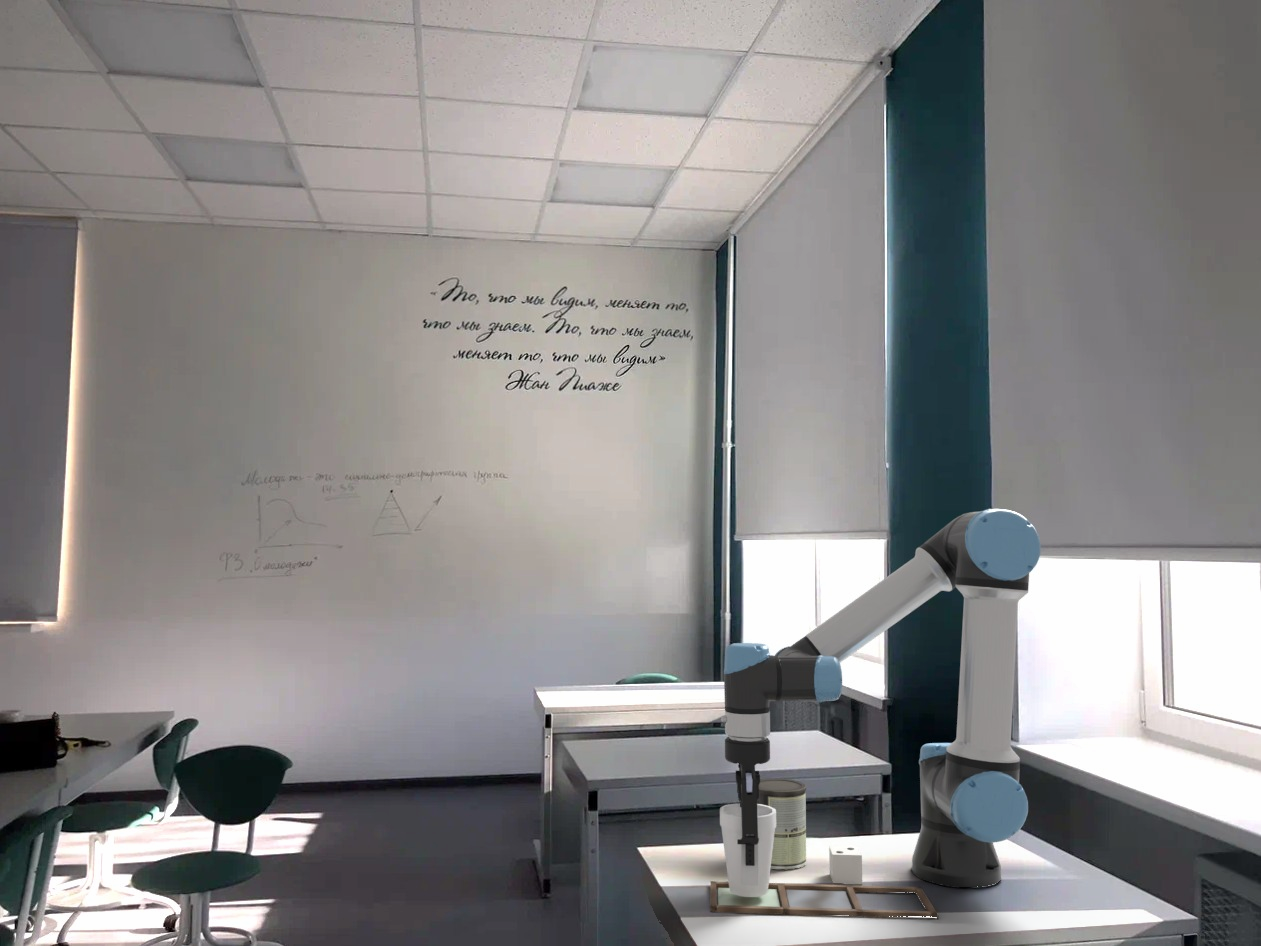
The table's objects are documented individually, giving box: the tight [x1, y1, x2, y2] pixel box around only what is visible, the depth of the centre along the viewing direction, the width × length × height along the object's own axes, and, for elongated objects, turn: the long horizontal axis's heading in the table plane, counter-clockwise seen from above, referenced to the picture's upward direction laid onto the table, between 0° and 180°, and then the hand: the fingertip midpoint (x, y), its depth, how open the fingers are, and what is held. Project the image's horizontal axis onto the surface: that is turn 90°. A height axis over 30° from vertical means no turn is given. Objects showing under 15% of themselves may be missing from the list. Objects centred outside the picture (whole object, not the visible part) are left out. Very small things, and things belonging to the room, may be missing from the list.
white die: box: [828, 845, 863, 885], centre depth 174 cm, size 5×5×5 cm
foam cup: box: [719, 802, 776, 897], centre depth 164 cm, size 10×9×13 cm
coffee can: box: [757, 778, 808, 870], centre depth 184 cm, size 10×10×14 cm
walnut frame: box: [709, 880, 939, 918], centre depth 162 cm, size 36×12×1 cm, turn 85°
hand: (748, 874), depth 163 cm, fingers closed on foam cup, 9 cm apart
